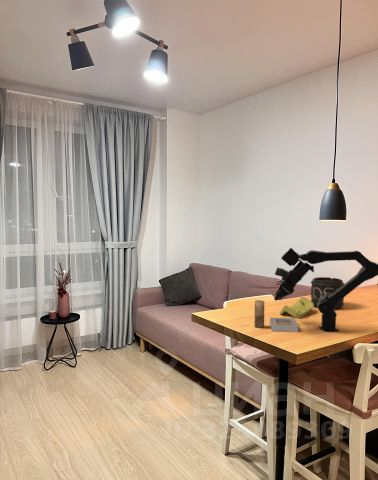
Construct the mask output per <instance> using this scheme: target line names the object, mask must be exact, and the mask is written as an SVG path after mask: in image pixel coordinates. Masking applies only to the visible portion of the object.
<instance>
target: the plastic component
mask: <svg viewBox="0 0 378 480" xmlns="http://www.w3.org/2000/svg"><path fill="white" fill-rule="evenodd" d="M313 308H314V305H313V303H312V302H311V300H310V299H309V298H306V297H305V296H301V297H300V298H299V299H298V300H296V302H295V303H294V304H293V305H291V306H289V305H284V306H283V308H282V309H281V310H280V312H279V315H281V316H282V315H284V314H287V313H288V314H289V315H291V316H292V318H294V319H301V318H303V317H304V316H306V315H307V314H308V313H309V312H310V311H312V309H313Z"/></svg>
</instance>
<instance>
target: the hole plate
mask: <svg viewBox="0 0 378 480" xmlns="http://www.w3.org/2000/svg"><path fill="white" fill-rule="evenodd" d="M269 326H270V330H271V332H287V333H289V332H290V333H292V332H293V333H299V324H298V323H297V320H296V318H295V317H292V318H291V317H269Z"/></svg>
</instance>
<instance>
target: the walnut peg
mask: <svg viewBox="0 0 378 480" xmlns="http://www.w3.org/2000/svg"><path fill="white" fill-rule="evenodd" d="M254 328H256V329H264V328H265V301H264V300H262V299H261V300H255V301H254Z"/></svg>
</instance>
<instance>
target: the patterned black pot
mask: <svg viewBox="0 0 378 480" xmlns="http://www.w3.org/2000/svg"><path fill="white" fill-rule="evenodd" d="M310 284H311V287H310V299H311V300H310V301H311V302H312V303H313V305H314V306H313V308H316V309H318V306H317V303H318V301H319V298H321V297H323V296H324V294H327V296H328V295H331V294H333V293H334V292H335V291H336V290H338V289H339V288H340V287H342V286H343V285H344V284H345V283H344V281H343V280H342V279H340V278H336V277H332V278H331V277H328V276H325V277H324V276H320V277H314V278H312V280H311V281H310ZM344 299H345V297H344V298H342V299H341V300H340V301H339V302H338V303H337V305H336V306H335V307H334V310H335V311H336V310H337V311H338V310H341V309H342V308H343V306H344V305H345V303H344Z"/></svg>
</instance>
